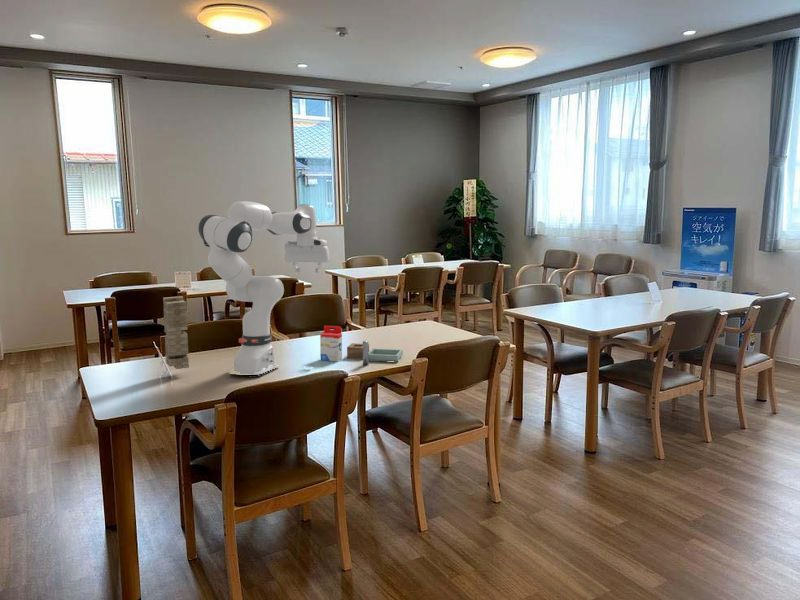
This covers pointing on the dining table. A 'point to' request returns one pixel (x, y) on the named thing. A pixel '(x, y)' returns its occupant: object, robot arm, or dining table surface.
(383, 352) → the tray
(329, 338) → the ink box
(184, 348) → the tower
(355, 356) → the brown wooden box
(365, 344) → the pin gauge
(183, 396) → the dining table surface
